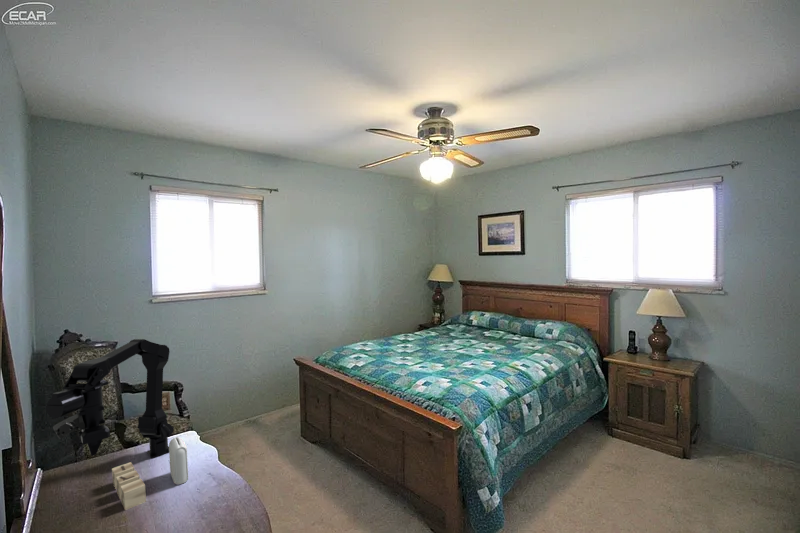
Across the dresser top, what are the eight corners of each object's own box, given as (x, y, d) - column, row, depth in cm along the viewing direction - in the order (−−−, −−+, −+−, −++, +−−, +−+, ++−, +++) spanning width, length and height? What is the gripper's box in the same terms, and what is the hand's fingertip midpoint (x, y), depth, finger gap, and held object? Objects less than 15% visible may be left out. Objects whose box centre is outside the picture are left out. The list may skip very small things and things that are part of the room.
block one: (112, 484, 120) (111, 468, 119) (131, 477, 123) (130, 461, 123) (115, 490, 116) (114, 474, 116) (135, 483, 120) (134, 467, 119)
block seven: (117, 493, 115) (116, 476, 115) (136, 485, 118) (135, 469, 118) (120, 500, 111) (119, 483, 111) (140, 492, 115) (139, 475, 115)
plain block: (121, 503, 110) (120, 486, 110) (142, 494, 113) (141, 478, 113) (125, 510, 106) (124, 493, 106) (146, 502, 110) (145, 485, 110)
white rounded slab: (169, 473, 125) (167, 436, 124) (183, 468, 127) (182, 432, 127) (174, 487, 117) (172, 447, 116) (189, 481, 119) (188, 443, 119)
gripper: (52, 404, 115) (55, 455, 115) (57, 421, 102) (60, 478, 102) (98, 394, 123) (101, 441, 123) (108, 408, 110) (111, 461, 110)
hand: (93, 455), depth 114 cm, fingers closed
